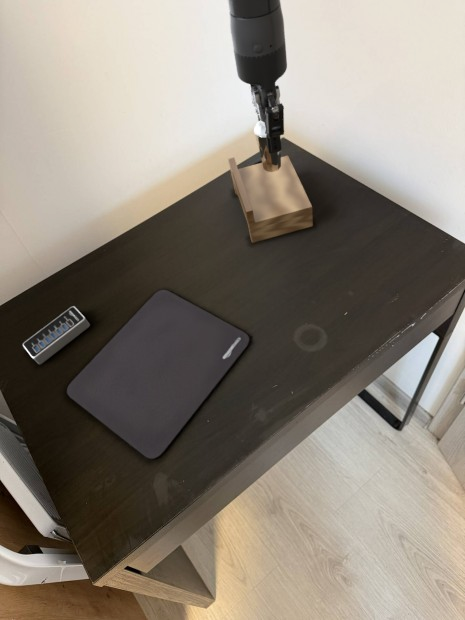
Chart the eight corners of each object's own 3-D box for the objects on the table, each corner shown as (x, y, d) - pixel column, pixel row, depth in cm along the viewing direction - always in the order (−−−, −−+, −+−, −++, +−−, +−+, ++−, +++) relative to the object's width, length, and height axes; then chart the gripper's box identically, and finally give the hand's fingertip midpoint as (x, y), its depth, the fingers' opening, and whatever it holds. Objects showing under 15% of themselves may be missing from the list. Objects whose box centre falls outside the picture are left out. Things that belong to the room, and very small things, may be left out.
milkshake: (274, 180, 84) (268, 131, 76) (254, 167, 87) (246, 119, 78) (292, 167, 85) (289, 117, 77) (272, 154, 88) (267, 106, 80)
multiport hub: (28, 350, 84) (21, 344, 82) (78, 312, 87) (73, 304, 86) (39, 365, 82) (32, 359, 80) (91, 325, 85) (85, 318, 83)
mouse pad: (154, 464, 68) (154, 463, 68) (62, 391, 78) (62, 391, 78) (253, 337, 78) (253, 337, 78) (161, 287, 87) (161, 286, 87)
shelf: (289, 175, 100) (286, 142, 93) (313, 226, 90) (311, 194, 84) (234, 190, 100) (228, 158, 93) (252, 243, 90) (246, 212, 84)
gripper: (298, 56, 64) (304, 160, 77) (271, 13, 72) (280, 114, 86) (244, 71, 64) (259, 173, 77) (223, 26, 72) (240, 125, 86)
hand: (270, 141), depth 82 cm, fingers closed on milkshake, 5 cm apart
